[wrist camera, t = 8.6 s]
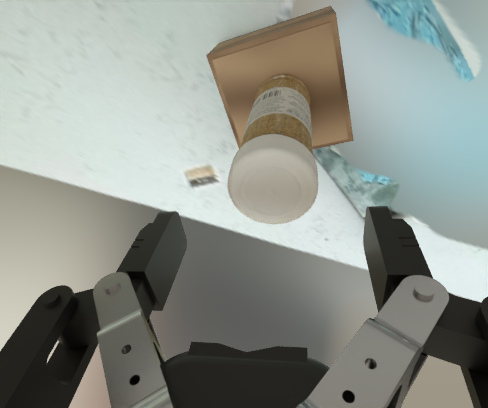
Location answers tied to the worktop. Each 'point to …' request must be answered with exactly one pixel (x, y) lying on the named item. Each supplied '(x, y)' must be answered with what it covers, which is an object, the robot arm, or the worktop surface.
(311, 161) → the sprinkles bottle
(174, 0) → the worktop surface
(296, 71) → the walnut block
